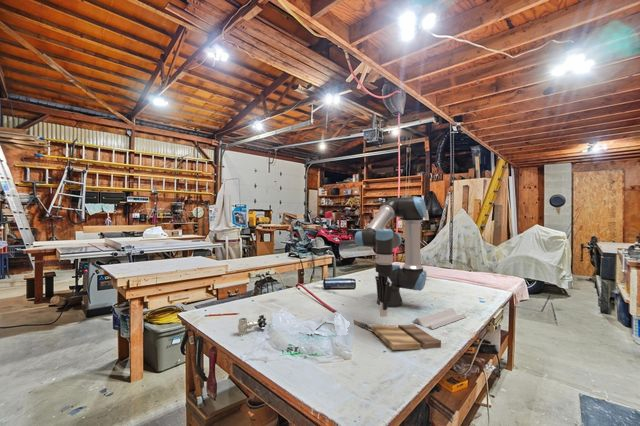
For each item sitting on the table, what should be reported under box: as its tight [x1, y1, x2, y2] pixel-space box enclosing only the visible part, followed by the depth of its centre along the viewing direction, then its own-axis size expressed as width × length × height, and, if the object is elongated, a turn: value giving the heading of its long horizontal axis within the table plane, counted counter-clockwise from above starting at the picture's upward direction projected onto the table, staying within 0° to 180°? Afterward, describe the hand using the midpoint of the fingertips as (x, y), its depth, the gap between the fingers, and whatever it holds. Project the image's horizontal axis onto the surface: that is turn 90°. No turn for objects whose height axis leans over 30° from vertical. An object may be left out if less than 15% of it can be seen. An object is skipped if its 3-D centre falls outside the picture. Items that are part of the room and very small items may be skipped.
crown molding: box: [411, 307, 467, 330], centre depth 148 cm, size 31×12×4 cm, turn 126°
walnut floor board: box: [397, 323, 442, 350], centre depth 124 cm, size 20×8×2 cm, turn 14°
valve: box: [237, 314, 267, 336], centre depth 127 cm, size 7×7×12 cm
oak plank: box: [371, 324, 421, 351], centre depth 122 cm, size 20×12×2 cm, turn 14°
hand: (383, 316), depth 128 cm, fingers closed
